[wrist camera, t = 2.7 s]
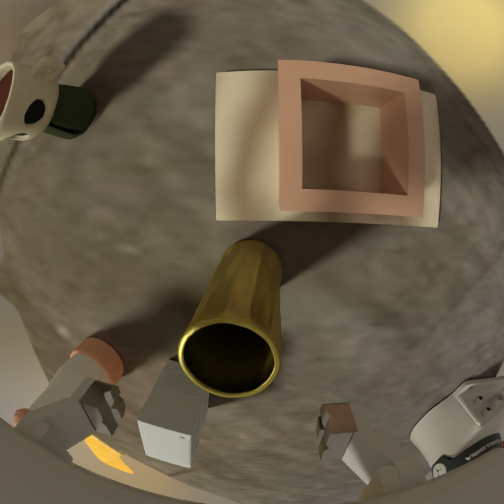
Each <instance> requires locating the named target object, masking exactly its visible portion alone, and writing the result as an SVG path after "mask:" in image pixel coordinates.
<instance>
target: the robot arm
mask: <svg viewBox="0 0 504 504" xmlns="http://www.w3.org/2000/svg"><path fill="white" fill-rule="evenodd" d="M503 392H504V376H500V377H493V378H486V379H477V380H468V381H465V382H464V383H462V384H461V385H460V386H459V387H458V388H457V389H456V390H455V391H454V392H453V393H452V394H451V395H450V396H449V397H448V398H446V399H445V400H443V401H442V402H440V403H439V404H438V405H436V406H435V407H434V408H433V409H431V410H430V411H429V412H428V413H427V414H426V415H425V416H424V417H423V418H422V419H421V420H420V421H419V422H418V423H417V425H416V426H415V427H414V429H413V431H412V433H411V436H410V439H411V442H412V443H413V444H414V445H415V446H416V447H417V448H418V449H419V450H420V452H421V453H422V454H423V456H424V457H425V459H426V460H427V462H428V464H429V466H430V467H431V470H432V475H433V479H430V480H428V481H426V478H425V476H424V473H423V471H422V468H421V466H420V463H419V461H418V459H417V457H416V456H415V455H413V454H411V453H410V452H408V451H407V450H405V449H404V448H402V447H401V446H399V445H397V444H396V443H394V442H393V441H391V440H390V439H389V438H387V437H386V436H384V435H383V434H381V433H380V432H378V431H377V430H375V429H374V430H371V427H370V424H369V421H368V418H367V416H366V413H365V410H364V407H363V405H362V402H361V401H360V400H359V401H351V402H341V403H330V404H322V405H321V408H320V414H321V416H320V417H318V420H317V428H316V432H317V439H318V440H319V441H320V445H319V454H320V460H331V459H342V460H343V461H344V462H345V463H346V464H347V465H348V466H349V467H350V468H351V469H352V470H353V471H354V472H355V473H356V474H357V475H358V476H359V477H360V478H361V479H362V480H363V481H364V482H365V483H366V484H367V486H366V487H365V489H364V490H363V491H362V492H361V493H360V495H359V496H358V500H357V501H351V502H345V503H339V504H504V449H503V448H504V441H503V442H502V441H501V435H500V431H501V428H502V425H503V423H504V394H503ZM119 394H120V390H119V388H118V386H116V385H112V384H109V383H105V382H102V381H99V380H95V379H92V378H89V377H88V378H85V380H84V381H83V382H82V383H81V384H80V386H79V387H78V388H77V389H76V390H75V392H74V393H73V394H72V395H71V396H70V398H64V399H62V400H59V401H56V402H54V403H51V404H48V405H46V406H43V407H40V408H38V409H35V410H32V411H29V412H27V414H26V415H25V416H24V417H23V418H22V419H21V420H20V422H19V423H18V424H17V425H16V426H15V428H14V427H12V426H11V425H10V424H8V423H7V422H6V421H4V420H3V419H2V418H0V504H204V503H197V502H192V501H186V500H181V499H177V498H172V497H168V496H163V495H159V494H156V493H152V492H148V491H144V490H141V489H138V488H135V487H131V486H129V485H126V484H123V483H120V482H117V481H114V480H112V479H109V478H106V477H104V476H101V475H99V474H97V473H94V472H92V471H90V470H87V469H85V468H83V467H81V466H79V465H76V464H74V463H72V460H73V458H72V456H71V455H70V454H69V452H68V451H67V449H69V448H71V447H72V446H74V445H76V444H77V443H79V442H81V441H82V440H84V439H86V438H87V437H89V436H90V435H92V434H94V433H95V432H96V431H97V432H100V433H103V434H106V435H109V436H112V435H113V434H114V432H115V430H116V428H117V426H118V425H117V421H119V420H121V419H122V418H123V416H124V413H125V403H124V400H123V399H122V398H121V397H120V396H119Z"/></svg>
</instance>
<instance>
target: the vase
mask: <svg viewBox="0 0 504 504" xmlns="http://www.w3.org/2000/svg"><path fill="white" fill-rule="evenodd" d="M282 276H283V266H282V262H281V260H280V258H279V256H278V254H277V253H276V252H275V251H274V250H273V249H272V248H271V247H270V246H268V245H267V244H265V243H263V242H260V241H256V240H245V241H240V242H237V243H235V244H233V245H232V246H231V247H229V248H228V249H227V251H226V252H225V253H224V254H223V256H222V258H221V261H220V264H219V265H218V267H217V269H216V271H215V273H214V275H213V277H212V279H211V282H210V284H209V286H208V288H207V290H206V292H205V294H204V296H203V298H202V300H201V302H200V304H199V306H198V308H197V310H196V312H195V314H194V316H193V318H192V320H191V321H190V323H189V325H188V327H187V328H186V330H185V332H184V334H183V336H182V337H181V339H180V341H179V345H178V359H179V363H180V366H181V368H182V370H183V371H184V372H185V374H186V375H187V376H188V377H189V379H190V380H191V381H192V382H194V383H195V384H196V385H197V386H199V387H200V388H202V389H204V390H206V391H207V392H209V393H212V394H214V395H218V396H222V397H227V398H239V397H247V396H251V395H254V394H257V393H259V392H261V391H262V390H264V389H265V388H266V387H267V386H268V385H269V384H271V383H272V381H273V380H274V379H275V378H276V376H277V373H278V370H279V367H280V363H281V358H282V338H281V316H280V284H281V280H282Z"/></svg>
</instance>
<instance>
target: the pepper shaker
mask: <svg viewBox="0 0 504 504" xmlns="http://www.w3.org/2000/svg"><path fill="white" fill-rule="evenodd" d="M123 372H124V366H123V363H122V360H121V358H120V357H119V355H118V354H117V352H116V351H115V350H114V349H113V348H112V347H111V346H110V345H109V344H107V343H106V342H104V341H103V340H100V339H98V338H93V337H90V338H87V339H85V340H84V341H83V342H82V343H81V344H80V345H79V346H78V347H77V348H76V349H75V350H74V351H73V352H72V353H71V357H70V359H69V360H68V361H67V362H65V363H64V364H63V365H62V366H61V367H60V368H59V370H58V371H57V373H56V374H55V376H54V377H53V379H52V380H51V382H50V384H49V385H48V387H47V389H46V390H45V391H44V392H43V393H42V394H41V395H40V397H39V398H38V399H37V400H36V401H35V402H34V403H33V404H32V406H31V407H30V408H29V409H19V410H17V411H16V413H15V415H14V417H13V424H14V427H15V426H16V425H17V424H18V423H19V422H20V420H21V419H22V418H23V417H24V416H25V415H26V414H27V412H29V411H32V410H35V409H38V408H40V407H43V406H46V405H48V404H51V403H54V402H56V401H59V400H62V399H64V398H70V396H71V395H72V394H73V393H74V392H75V390H76V389H77V388H78V387H79V386H80V384H81V383H82V382H83V381H84V380H85V378H88V377H89V378H92V379H95V380H99V381H102V382H105V383H109V384H112V385H116V383H117V382H118V381H119V379H120V378H121V376H122V375H123Z"/></svg>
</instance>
